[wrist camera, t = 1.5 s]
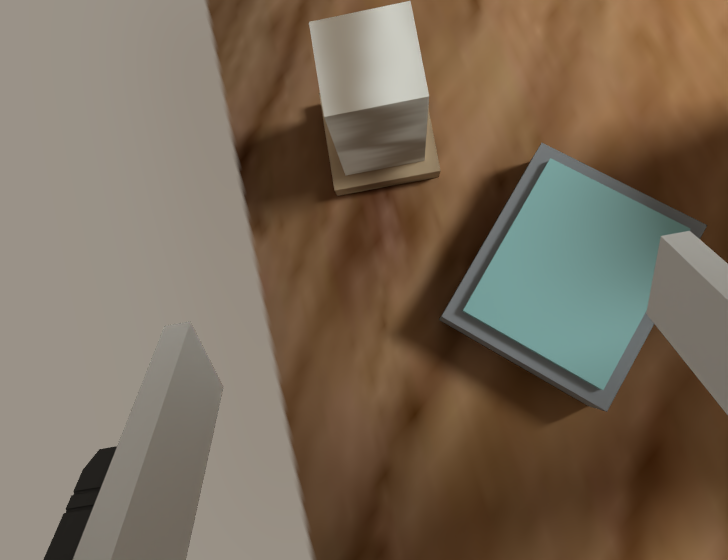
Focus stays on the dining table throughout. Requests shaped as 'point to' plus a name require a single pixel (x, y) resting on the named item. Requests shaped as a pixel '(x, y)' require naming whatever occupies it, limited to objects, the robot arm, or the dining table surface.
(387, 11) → the pallet
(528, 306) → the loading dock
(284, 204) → the dining table surface
